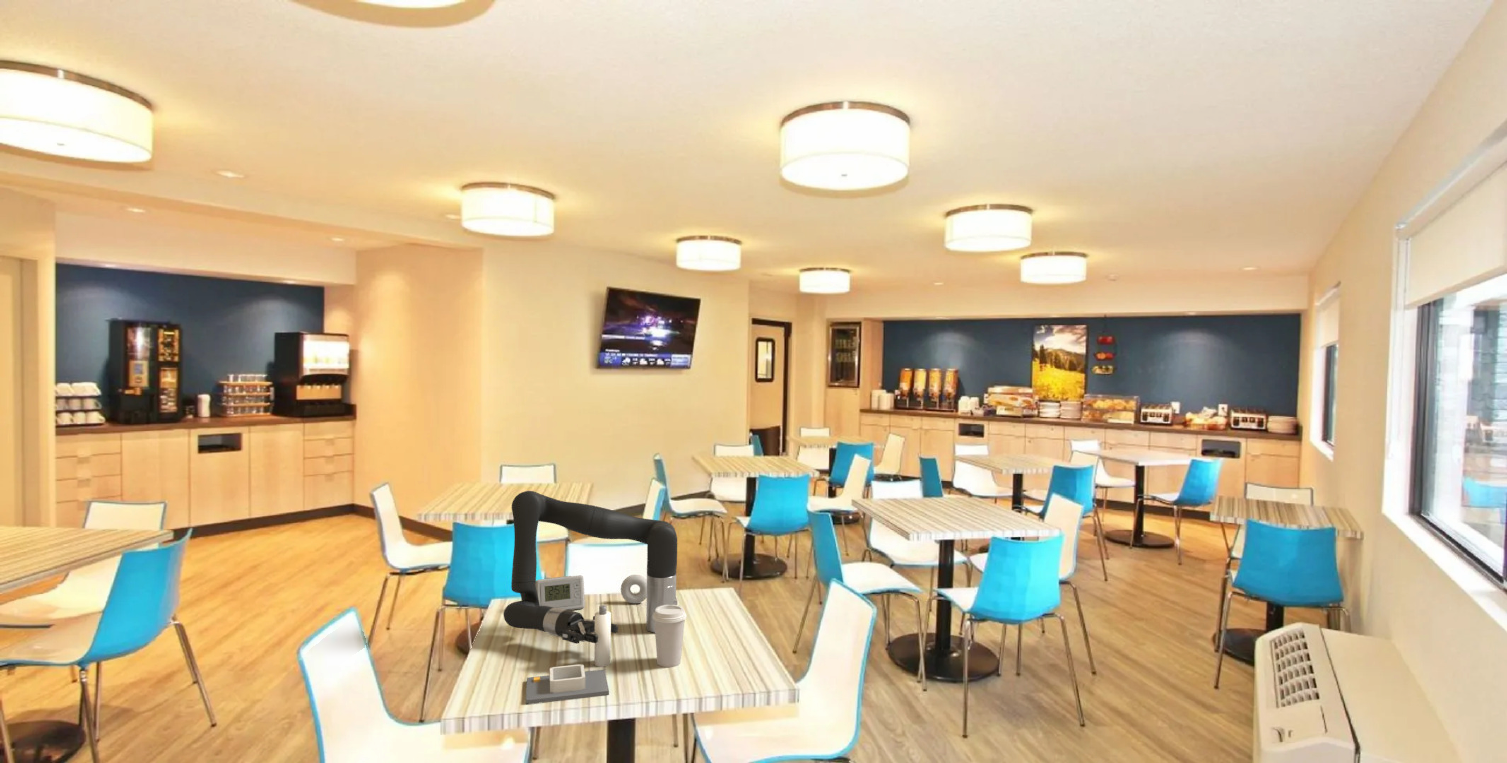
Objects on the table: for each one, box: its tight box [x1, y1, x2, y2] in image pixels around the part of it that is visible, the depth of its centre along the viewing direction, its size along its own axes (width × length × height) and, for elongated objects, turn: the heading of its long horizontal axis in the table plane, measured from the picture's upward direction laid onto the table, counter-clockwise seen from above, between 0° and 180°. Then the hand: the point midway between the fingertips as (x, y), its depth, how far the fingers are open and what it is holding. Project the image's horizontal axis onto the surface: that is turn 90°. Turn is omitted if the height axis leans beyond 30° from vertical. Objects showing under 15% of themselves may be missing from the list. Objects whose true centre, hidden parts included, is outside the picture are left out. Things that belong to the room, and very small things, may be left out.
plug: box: [593, 604, 612, 668], centre depth 201 cm, size 4×4×16 cm
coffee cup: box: [652, 604, 687, 668], centre depth 203 cm, size 10×10×15 cm
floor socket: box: [525, 664, 610, 704], centre depth 186 cm, size 20×13×4 cm, turn 107°
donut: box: [620, 574, 647, 605], centre depth 251 cm, size 10×4×10 cm, turn 94°
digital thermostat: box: [536, 575, 586, 611], centre depth 244 cm, size 16×9×11 cm, turn 102°
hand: (607, 634), depth 200 cm, fingers open, 8 cm apart
